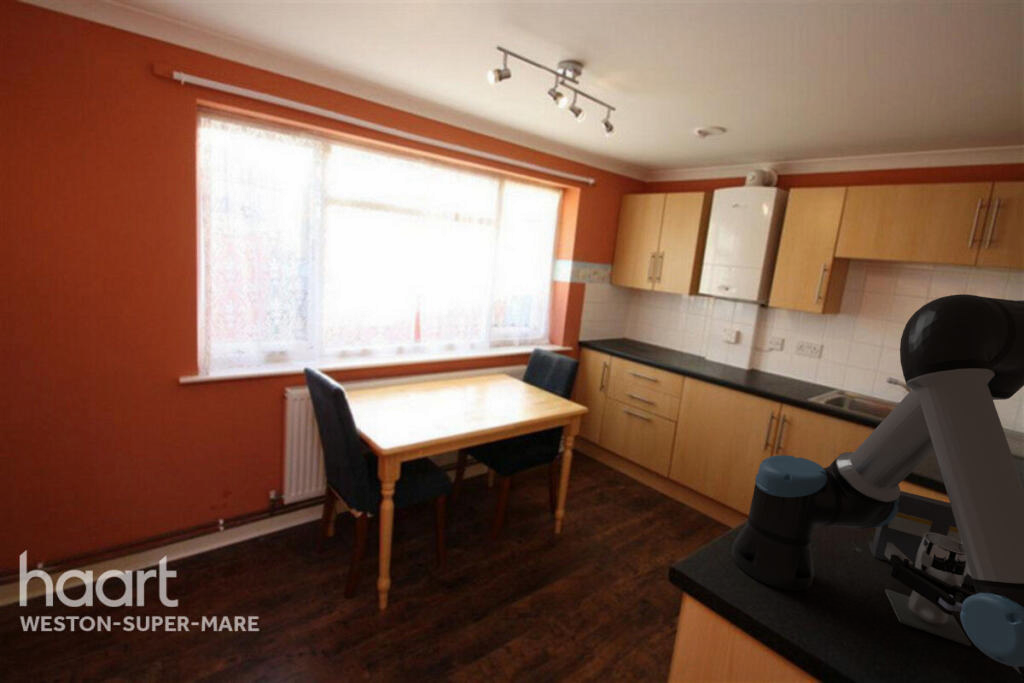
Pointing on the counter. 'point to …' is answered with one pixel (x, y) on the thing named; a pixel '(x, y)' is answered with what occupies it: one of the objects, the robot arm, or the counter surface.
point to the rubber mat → (906, 617)
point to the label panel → (915, 527)
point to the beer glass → (937, 573)
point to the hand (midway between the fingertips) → (927, 556)
